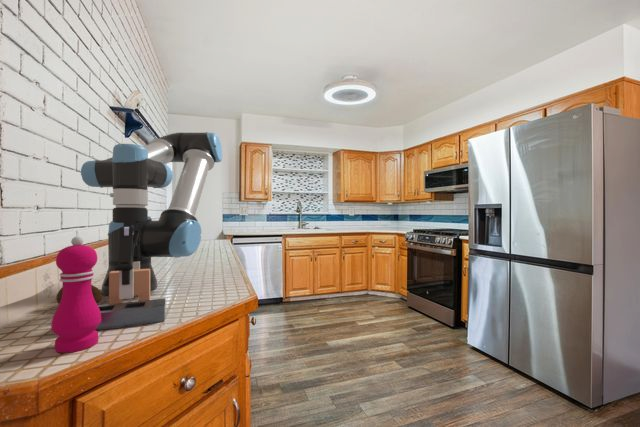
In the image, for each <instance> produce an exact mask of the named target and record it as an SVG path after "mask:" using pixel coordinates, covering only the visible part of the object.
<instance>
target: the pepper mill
mask: <svg viewBox="0 0 640 427" xmlns="http://www.w3.org/2000/svg"><path fill="white" fill-rule="evenodd" d="M70 242H71V245H68V246H65V247H63V248H62V249H61V250H59V252H58V253H57V255H56V258H55V265H56V267H57V268H58V269H59V270H60V271H61V273H59V277H60V279H59V282H61V283H62V287H63V293H62V298H61V301H60V304H58V306H57V308H56V310H55V312H54V314H53V316H52V320H51V327H50V328H51V332H52V333H53V334H55V335H56V336H57V337H56V339H54V351H55V352H57V353H61V354H65V353H67V354H68V353H69V354H70V353H75V352H80V351H83V350H86V349H89V348H91V347H93V346H96V344H98V342H99V332H98V330H96V331H95V329H96V328H97V327H98V325H99V324H100V323H101V312H100V309H99V307H98V303H96V301H95V299H94V297H93V294H92V289H91V285H92V281H93V280H92V279H94V278H95V275H94V273H95V270H93V268H94V267H95V265H96V264H97V262H98V253H97V252H96V250H95V249H94V248H93V247H91V246H90V245H86V244H85V245H84V239H83V238H82V237H81V236H74V237H73V238H71V241H70Z"/></svg>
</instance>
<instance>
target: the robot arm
mask: <svg viewBox="0 0 640 427" xmlns="http://www.w3.org/2000/svg"><path fill="white" fill-rule="evenodd" d="M222 149H223V148H222V142H221V140H220V137H219V135H218V134H217V133H215V132H209V131H206V132H173V133H170V134H166V135H164V136H160V137H157V138H154V139H152V140H151V141H150V142H149V143H148V144H146V145H144V146H143V145H140V144H135V143H118V144H115V145H114V146H113V149H112V157H110V158H107V159H103V160H101V159H100V160H99V159H94V160H88V161H85V162H84V163H83V164H82V165H81V168H80V176H81V178H82V181H83V182H84V183H85V185H87V186H89V187H92V188H101V189H103V188H112V192H111V193H109V197H111V198H112V205H113V206H115V207H113V208H112V220H111V221H110V223H109V224H108V233H107V236H108V237H107V238H108V240H107V242H108V244H107V245H108V251H107V252H108V256H107V257H108V269H107V271H106V274H105V276H104V279H103V282H102V284H101V294H102V296H103V295H104V296H109V273H110V272H111V271H119V299H123V300H124V299H125V300H127V299H133V298H134V296H133V270H136V269H150V292H151V291H154V290H156V289H158V280H157V277H156V273H155V271H154V268H153V265H152V258H181V257H184V258H185V257H190V256H191V255H193V254H195V253H196V251H197V250H198V248H199V245H200V243H201V240H202V227H201V224H200V223H199V220H198V218H197V217H196V213H197V210H198V208H199V204H200V200H201V197H202V192H203V189H204V186H205V184H206V178H207V175H208V174H209V173H208V172H209V171H211V170H212V169H213V168H214V166H215V163H221V162H222V160H223V150H222ZM169 163H183V164H184V165H183V167H182V170H181V173H180V175H179V179H178V180H177V185H176V187H175V189H174V191H173V195H172V197H171V200H170V203H169V205H168V208H167V209H164V210H163V211H162V212H161V213H160V216H159V218H158V220H152V217H151V216H150V215H148V214H149V213H148V212H149V211H148V209H147V206H148V205H149V191H148V188H153V189H163V188H167V187H168V186H169V185H170V184H171V183H172V180H173V176H174V175H173V171H172V169H171V168H170V167H169V165H168V164H169ZM155 288H156V289H155ZM153 289H154V290H153Z"/></svg>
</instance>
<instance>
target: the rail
mask: <svg viewBox="0 0 640 427" xmlns="http://www.w3.org/2000/svg"><path fill="white" fill-rule="evenodd" d="M97 305H98V304H97ZM98 307H99V309H100V312H101V323H100V324H99V325H98V327H97V328H96V329H95V331H104V330H110V329H117V328H118V329H119V328H126V327H132V326H141V325H148V324H156V323H164V322H165V320H166V298H165V297H164V298H155V299H154V298H153V299H150V300H145V301H138V300H136V301H128V302H123V303H116V304H109V303H108V304H106V303H105V304H99V305H98Z"/></svg>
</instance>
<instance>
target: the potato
mask: <svg viewBox="0 0 640 427" xmlns="http://www.w3.org/2000/svg"><path fill="white" fill-rule="evenodd" d="M91 289H92V294H93V297H94V299H95V301H96V303H97V304H99V303H100V302H101V301H102V300H103V294H102V291H101V290H100V289H99V288H98V287H97V286H95V285H92V284H91ZM62 293H63V286H62V287H61V288H60V289H59V291H58V292H57V294H56V298H55V299H56V302H57V303H58V305H59V304H60V301H61V298H62Z"/></svg>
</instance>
